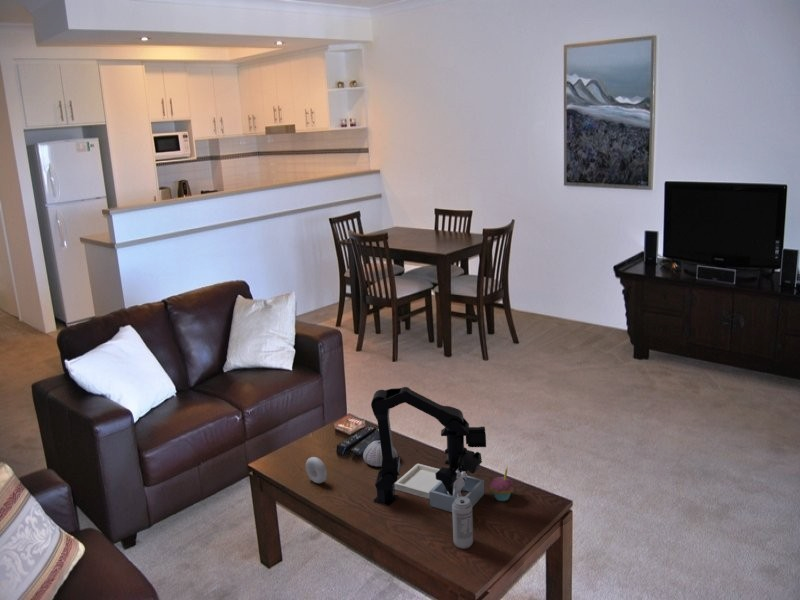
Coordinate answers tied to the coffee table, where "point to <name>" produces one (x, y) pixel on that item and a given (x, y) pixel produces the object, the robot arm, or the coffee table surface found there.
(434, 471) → the tray
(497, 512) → the coffee table surface
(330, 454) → the coffee table surface
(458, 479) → the flower shoulder figurine
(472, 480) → the deep square frame
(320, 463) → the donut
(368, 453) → the sea urchin shell
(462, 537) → the energy drink can
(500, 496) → the cupcake
